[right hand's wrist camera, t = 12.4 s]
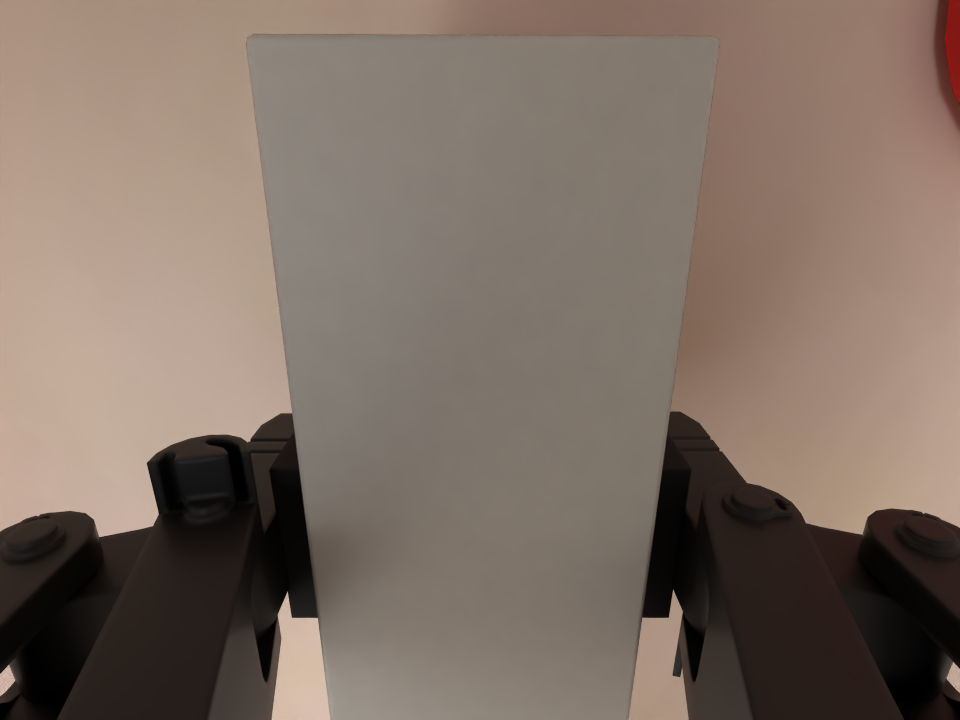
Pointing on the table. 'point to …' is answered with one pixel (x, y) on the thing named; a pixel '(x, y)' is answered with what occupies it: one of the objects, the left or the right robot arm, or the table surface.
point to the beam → (481, 351)
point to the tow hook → (953, 45)
